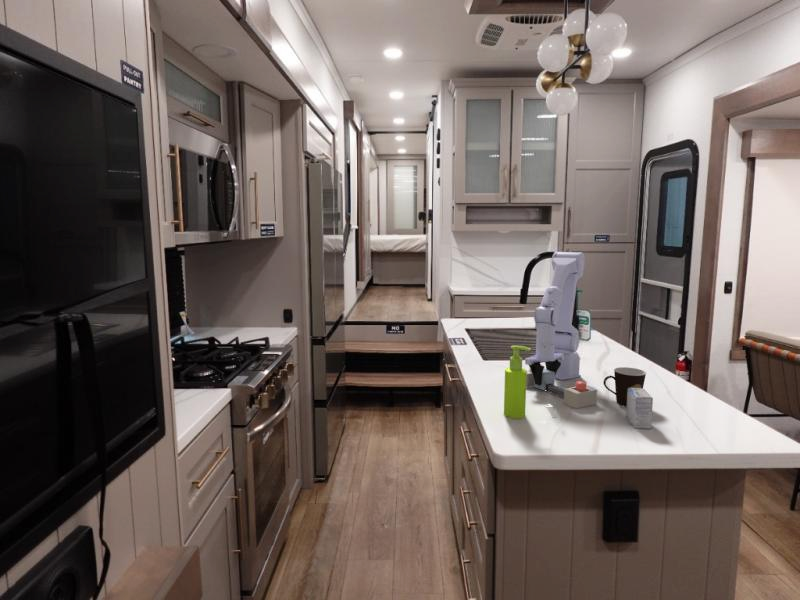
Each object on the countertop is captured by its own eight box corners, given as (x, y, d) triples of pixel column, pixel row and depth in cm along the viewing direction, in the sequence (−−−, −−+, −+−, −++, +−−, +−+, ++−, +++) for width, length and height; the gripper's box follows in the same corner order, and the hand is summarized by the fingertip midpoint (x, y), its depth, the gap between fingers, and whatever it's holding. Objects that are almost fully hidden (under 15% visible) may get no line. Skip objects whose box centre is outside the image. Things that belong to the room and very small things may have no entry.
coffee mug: (641, 400, 152) (643, 368, 151) (645, 410, 144) (647, 376, 143) (600, 396, 156) (602, 365, 155) (602, 405, 148) (604, 373, 147)
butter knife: (552, 403, 150) (542, 403, 150) (571, 436, 126) (559, 436, 126) (552, 404, 150) (542, 404, 150) (571, 438, 126) (559, 437, 126)
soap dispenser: (524, 420, 137) (527, 349, 134) (500, 416, 140) (502, 346, 137) (531, 414, 142) (533, 345, 139) (508, 409, 145) (509, 342, 142)
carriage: (543, 384, 167) (544, 368, 166) (554, 388, 163) (554, 372, 162) (533, 386, 165) (533, 369, 164) (543, 390, 161) (544, 373, 160)
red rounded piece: (580, 391, 151) (581, 380, 151) (588, 394, 149) (588, 383, 148) (573, 393, 150) (573, 382, 149) (580, 396, 147) (581, 384, 147)
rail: (538, 385, 168) (539, 379, 167) (576, 400, 152) (576, 394, 152) (534, 385, 167) (534, 380, 166) (571, 401, 152) (571, 395, 151)
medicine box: (651, 429, 131) (653, 397, 129) (633, 428, 131) (635, 396, 130) (642, 418, 138) (644, 388, 137) (625, 417, 139) (627, 387, 138)
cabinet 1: (539, 381, 172) (540, 365, 171) (545, 383, 169) (546, 368, 168) (521, 384, 168) (521, 368, 167) (527, 387, 165) (527, 371, 165)
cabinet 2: (583, 399, 154) (584, 385, 153) (596, 404, 149) (597, 389, 148) (563, 403, 150) (564, 388, 150) (576, 408, 146) (576, 393, 145)
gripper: (536, 348, 155) (534, 390, 157) (571, 343, 161) (569, 383, 163) (521, 343, 162) (520, 383, 163) (556, 338, 168) (554, 378, 170)
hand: (543, 383), depth 164 cm, fingers open, 4 cm apart
